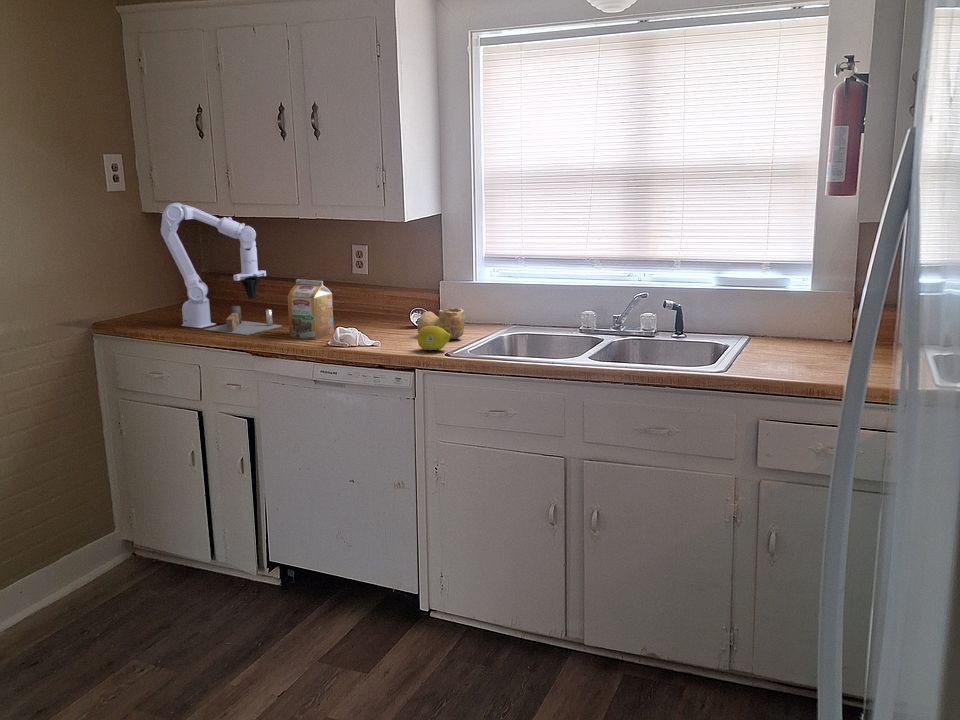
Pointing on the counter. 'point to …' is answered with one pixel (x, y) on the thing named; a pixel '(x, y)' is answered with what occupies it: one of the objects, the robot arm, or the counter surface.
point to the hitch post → (269, 317)
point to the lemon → (432, 338)
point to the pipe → (445, 321)
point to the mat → (244, 328)
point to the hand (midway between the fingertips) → (251, 298)
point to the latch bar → (234, 318)
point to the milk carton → (310, 310)
